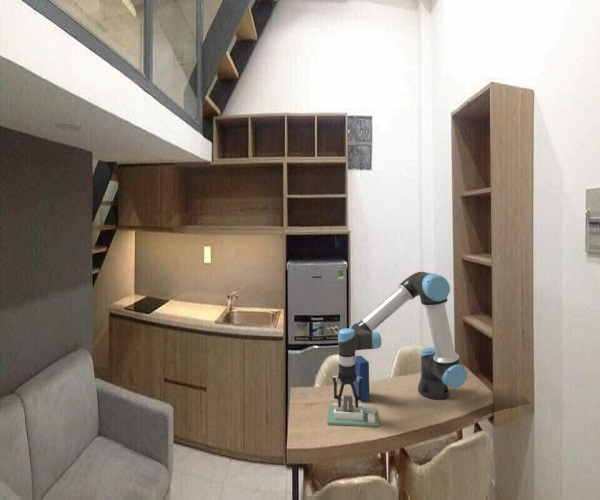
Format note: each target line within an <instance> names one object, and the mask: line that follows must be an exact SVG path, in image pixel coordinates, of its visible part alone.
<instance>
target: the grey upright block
mask: <svg viewBox="0 0 600 500" xmlns="http://www.w3.org/2000/svg"><path fill="white" fill-rule="evenodd" d="M343 404H344V412H353V404H354V399H353V394H352V395H350V394H343Z"/></svg>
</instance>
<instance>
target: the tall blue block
mask: <svg viewBox="0 0 600 500" xmlns="http://www.w3.org/2000/svg"><path fill="white" fill-rule="evenodd" d="M355 365H356V375H357V376H359V377H360V376H362V383H361V389H362V400H359V401H360V402H362V403H366V402H367V403H368V402H369V401H370V398H371V397H370V362H369V361H368V360H367V359H365V358H364V356H362V355H355ZM353 383H354V386H355V390H356V393H357V396H359V385H358V381H357V379H356V380H355V381H354V382H353Z"/></svg>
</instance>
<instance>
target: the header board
mask: <svg viewBox="0 0 600 500" xmlns="http://www.w3.org/2000/svg"><path fill="white" fill-rule="evenodd" d="M328 407H329V408H328V417H327V425H328V426H349V427H363V428H364V427H367V428H369V427H370V428H379V427H380V424H379V423H380V422H379V417H378V411H377V408H376V407H363V404H358V408H356V412H354V403H353V412H344V403H343V412H341V407H339V406H338V403H333V406H332V405H330V406H328Z"/></svg>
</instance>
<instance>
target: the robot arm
mask: <svg viewBox="0 0 600 500" xmlns="http://www.w3.org/2000/svg"><path fill="white" fill-rule="evenodd" d="M450 292H451V286H450V283H449V281H448V279H446V277H444V276H443V275H440V274H437V273H431V272H425V271H416V272H415V273H412V274H411V275H409V276H408V277H407V278H405V279H404V280H403V281H401V283H399V284H398V287H397V289H396V290H394V291H393V292H392V293H391V294H390V295H389V296H388V297H386V298H385V299H383V301H382V302H380V304H378V305H377V306H376V307H375V308H374V309H373V310H372V311H370V312H369V313H368V314H367V315H366V316H364V317H363V318H362V319H361V320H360V321H359V322H358V323H357V322H356V323H355V322H353V323H352V324H350V326H349V328H345V327H344V328H341V329H339V330H338V333H337V335H338V336H337V342H338V345H337V346H338V374H337V375H333V376H332V381H333V398H334V400H337V404H338V406H339V407H341V412H343V404H344V402H343V397H342V395H343V391H344V389H345V385H349V386H350V387H351V389H352V390H351V391H352V395H353V397H354V398H353V404H354V412H356V408H358V405H359V401H360V400H362V389H361V383H362V376H360V377H359V376H357V375H356V365H355V356H356V351H362V350H363V351H364V350H365V351H366V350H376V349H380V348H381V346H382V337H381V334H380V332H378V331H374V330H376V329H377V328H378V327H379V326H380V325H382V324H383V323H384V322H385V321H386V320H387V319H388V318H390V317H391V316H392V315H393V314H394V313H395V312H396V311H397V310H399V309H401V307H403V305H405V304H406V303H407V302H408V301H410V300H412V301H413V299H416V297H419V298H420V303H421V305H422V306H424V307H425V310H426V315H427V319H428V325H429V329H430V334H431V335H430V336H431V338H432V344H433V347H432V346H431V347H429V346H428V347H424V348H422V349H421V352H420V364H421V365H420V369H421V370H420V372H421V373H420V375H421V377H420V379H419V382H418V384H417V385H418V386H417V393H419V394H420V396H423V397H424V398H427V399H432V400H445V399H447V398H448V397H450V389H457V388H458V389H459V388H460V387H461V386H463V385H464V384H465V382H466V381H467V380H468V370H467V368H466V367H465V366H464V365H462V364H461V359H460V355H459V354H458V353H456V352H455V346H454V343H453V338H452V337H453V336H452V332H451V327H450V322H449V319H448V318H449V317H448V314H447V313H448V312H447V308H446V303H448V300H449V299H448V297H449V294H450ZM356 379H357V381H358V385H359V396H357V393H356V390H355V386H354V381H355V380H356ZM338 380H339V381H340V382H341V384H340V387H339V388H340V389H339V392H338V386H337V385H338ZM337 392H338V393H337Z"/></svg>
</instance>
